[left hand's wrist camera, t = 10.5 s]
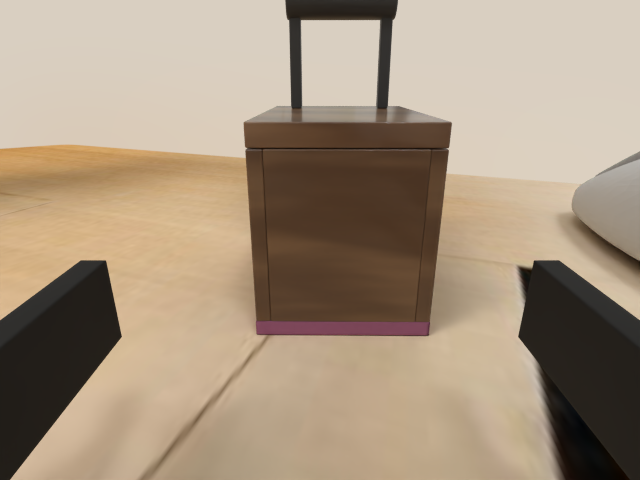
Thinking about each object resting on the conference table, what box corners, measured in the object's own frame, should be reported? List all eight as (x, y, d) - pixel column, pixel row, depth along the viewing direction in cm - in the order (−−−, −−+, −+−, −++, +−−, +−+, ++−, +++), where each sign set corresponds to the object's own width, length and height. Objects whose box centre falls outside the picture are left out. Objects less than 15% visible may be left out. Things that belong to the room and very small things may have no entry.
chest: (280, 245, 34) (276, 123, 30) (391, 246, 34) (399, 123, 30) (256, 334, 22) (244, 149, 18) (428, 335, 22) (449, 149, 18)
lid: (277, 121, 31) (272, -10, 28) (398, 122, 31) (407, -10, 28) (244, 148, 18) (230, -86, 15) (449, 148, 18) (475, -86, 15)
